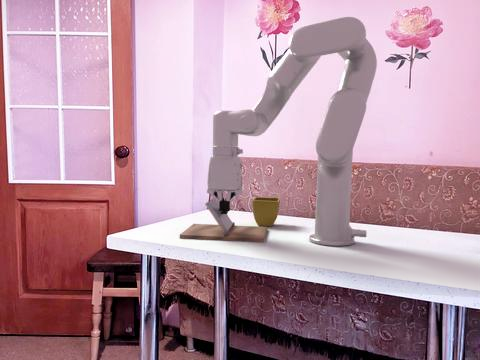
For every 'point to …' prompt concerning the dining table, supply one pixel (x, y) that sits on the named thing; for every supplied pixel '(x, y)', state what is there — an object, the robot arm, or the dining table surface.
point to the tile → (219, 214)
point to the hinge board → (225, 233)
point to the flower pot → (265, 210)
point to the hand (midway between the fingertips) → (224, 213)
